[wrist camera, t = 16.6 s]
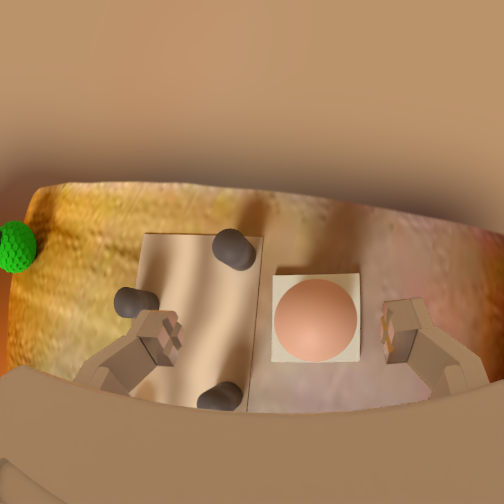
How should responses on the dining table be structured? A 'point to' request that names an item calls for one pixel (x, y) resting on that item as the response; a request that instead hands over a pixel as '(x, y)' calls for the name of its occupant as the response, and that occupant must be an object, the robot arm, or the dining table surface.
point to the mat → (344, 280)
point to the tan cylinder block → (315, 320)
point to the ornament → (16, 246)
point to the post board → (200, 315)
